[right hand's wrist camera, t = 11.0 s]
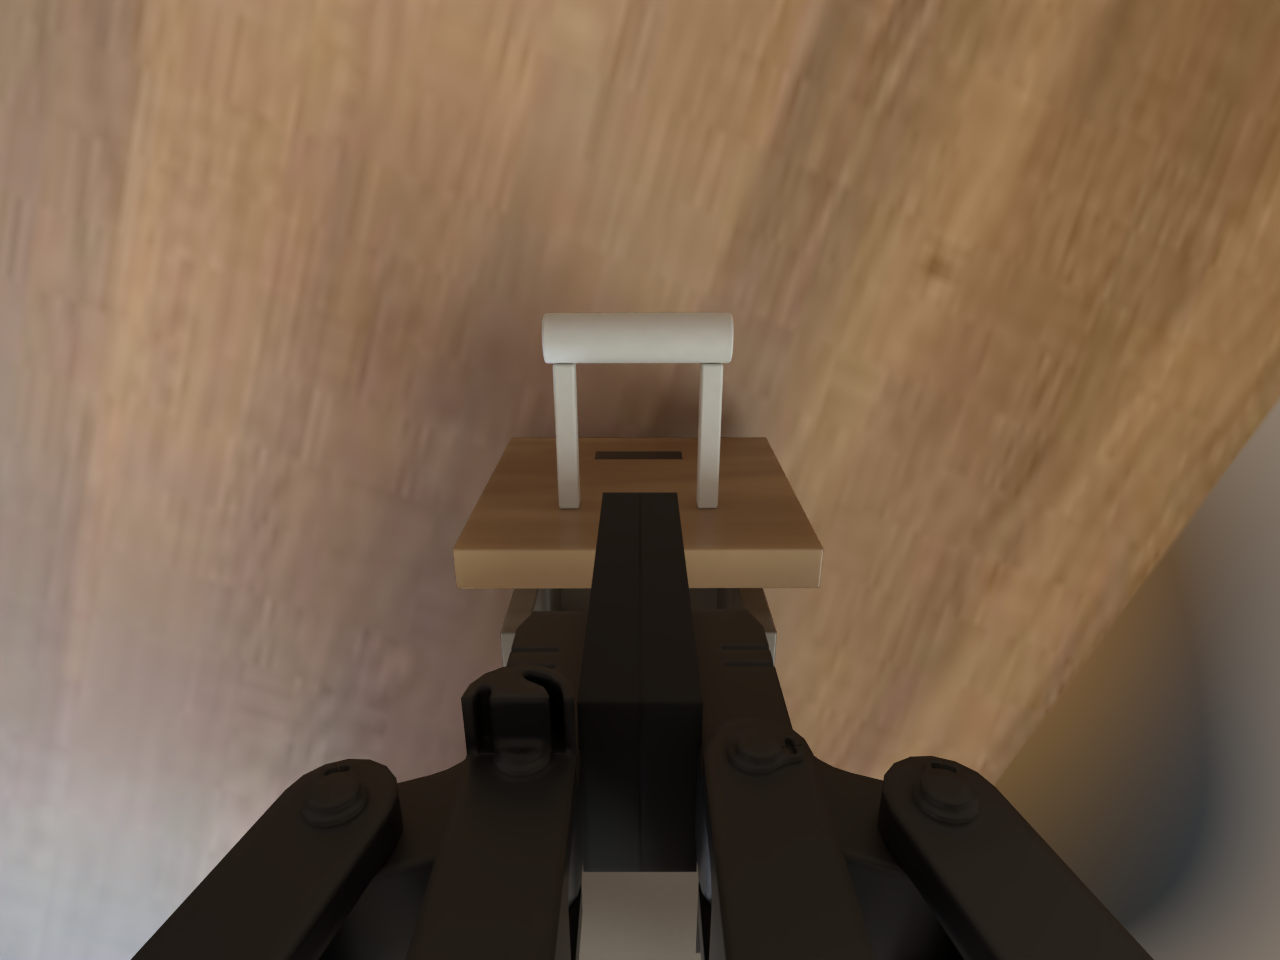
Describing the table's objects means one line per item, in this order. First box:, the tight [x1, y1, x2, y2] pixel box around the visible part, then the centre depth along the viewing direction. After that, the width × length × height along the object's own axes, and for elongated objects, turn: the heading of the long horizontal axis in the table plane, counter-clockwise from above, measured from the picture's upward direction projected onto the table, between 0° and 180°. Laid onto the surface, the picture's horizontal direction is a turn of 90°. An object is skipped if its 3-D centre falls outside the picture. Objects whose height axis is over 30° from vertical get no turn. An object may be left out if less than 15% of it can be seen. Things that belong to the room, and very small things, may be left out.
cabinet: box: [579, 866, 701, 960], centre depth 30 cm, size 17×11×12 cm, turn 0°
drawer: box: [453, 312, 824, 667], centre depth 25 cm, size 21×10×10 cm, turn 0°
